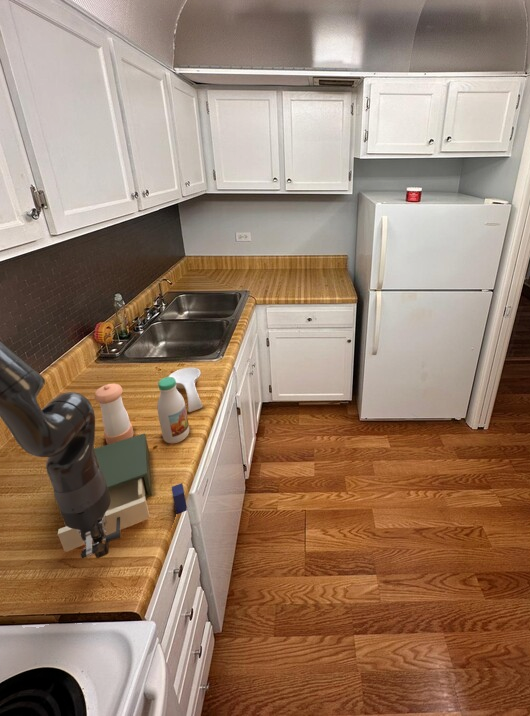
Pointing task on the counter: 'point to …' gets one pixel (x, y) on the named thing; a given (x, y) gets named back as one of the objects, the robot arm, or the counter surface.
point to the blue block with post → (179, 498)
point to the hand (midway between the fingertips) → (103, 552)
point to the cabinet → (126, 462)
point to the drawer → (115, 513)
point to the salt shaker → (113, 413)
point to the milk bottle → (172, 412)
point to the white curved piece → (188, 385)
